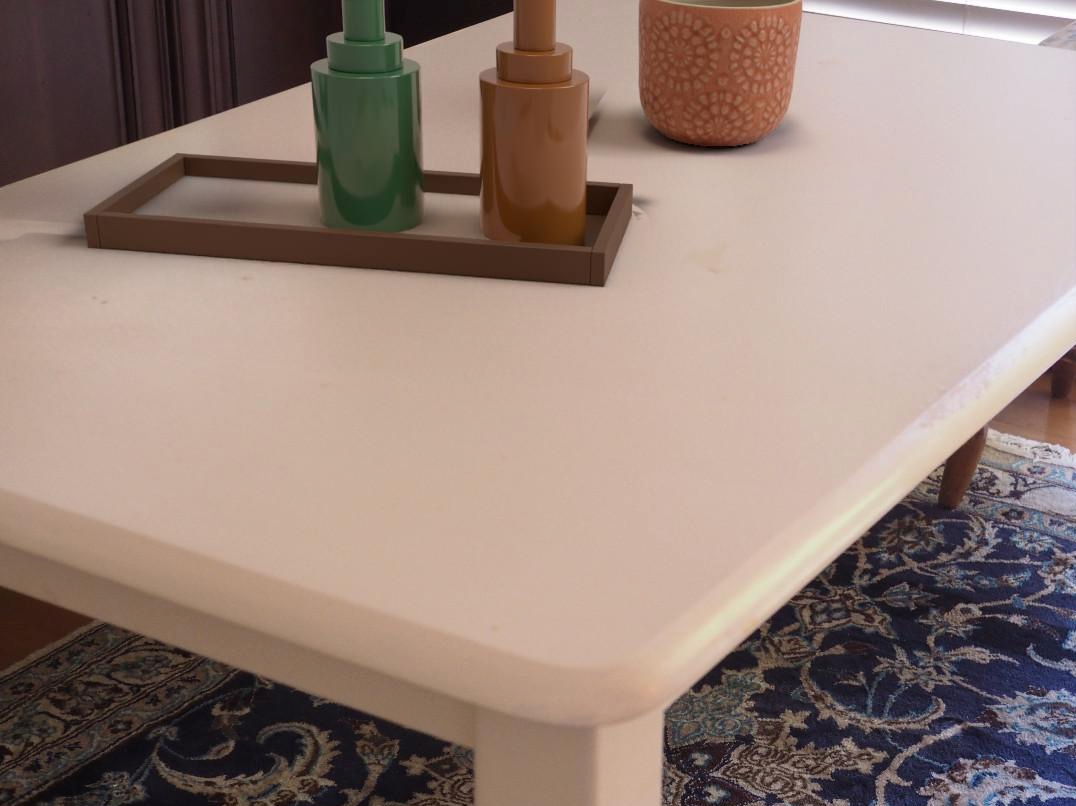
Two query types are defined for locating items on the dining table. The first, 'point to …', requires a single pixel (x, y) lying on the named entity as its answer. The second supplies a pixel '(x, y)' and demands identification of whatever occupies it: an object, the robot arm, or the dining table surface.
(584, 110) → the amber bottle
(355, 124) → the green bottle
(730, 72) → the planter
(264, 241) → the tray
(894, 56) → the dining table surface
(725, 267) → the dining table surface
